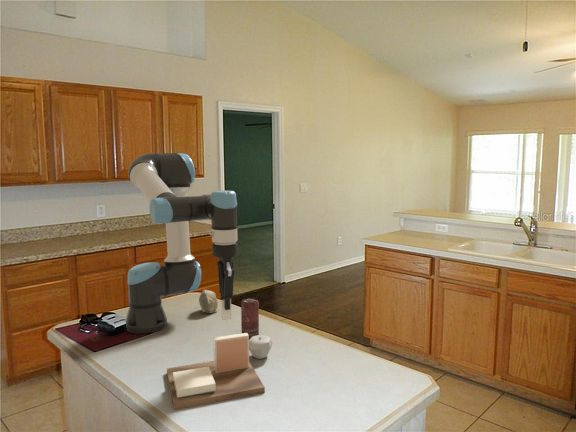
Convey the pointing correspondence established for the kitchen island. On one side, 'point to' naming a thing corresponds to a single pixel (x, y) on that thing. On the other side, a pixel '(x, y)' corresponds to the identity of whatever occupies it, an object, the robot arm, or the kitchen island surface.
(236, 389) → the board
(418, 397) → the kitchen island surface
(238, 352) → the tile cream
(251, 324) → the can
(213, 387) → the square block
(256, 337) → the apple
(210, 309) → the grey rock
